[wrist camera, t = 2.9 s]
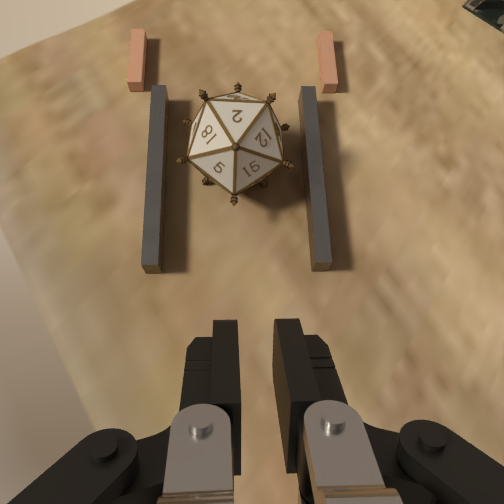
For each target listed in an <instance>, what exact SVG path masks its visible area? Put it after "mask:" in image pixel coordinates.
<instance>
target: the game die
mask: <svg viewBox="0 0 504 504" xmlns="http://www.w3.org/2000/svg"><path fill="white" fill-rule="evenodd" d="M241 87H242V86H241V85H240V84H239V82H238V83H237V84H236V85H235V88H234V89H235V91H236V92H235V93H230V94H225V95H221V96H216V97H211V98H208V96H207V95H208V94H206V91H203V90H201V89H199V96H200V97H201V99H203V100H204V103H203V105H202V106H201V108H200V110H199V112H198V113H197V115H196V117H195V119H194V121H193V122H192V121H191V120H188V119H187V120H184V121H183V122H184V124H185V126H188V127H189V126H191V130H190V136H189V143H188V149H187V155H186V156H182V157H180V156H179V158H178V160H177V161H176V162H177V163H181V164H182V163H185V162H186V161H189V162H190V163H191V164H192V165H193V166H194V167H195V168H197V169H198V170H199V171H200V172H201V173H202V174H203V175H204V176H205V178H204V179H203V180H202V181H203V185H205V184H207V185H208V183H209V180H211V181H212V182H214V183H215V184H216V185H218V186H219V187H221V188H222V189H224V190H225V191H227V192H228V193H230V194H231V195H232V197H231V198H230V199H231V201H230V202H231V203H232V205H233V206H235V205H236V203H237V202H238V201H237V199H238V198H237V195H238V194H239V193H241V192H243V191H245V190H246V189H248V188H250V187H252V186H254V185H255V184H257V183H259V182H260V185H262V187H267V182H266V180H264V179H265V178H266V177H267V176H269V175H270V174H271V173H272V172H274V171H275V170H276V169H277V168H279V167H280V166H281V165H284V166H285V167H287V168H288V169H289V168H292V167H294V166H293V164H292V163H291V161H289V160H287V161H285V160H284V152H283V138H282V130H283V131H285V130H288V128H289V127H290V125H288V124H286V123H285V124H283V125H282V126H280V124H279V122H278V120H277V118H276V116H275V113H274V111H273V109H272V107H271V105H270V103H272V102H274V100H276V98H275V97H276V93H273V94H269V97H267V100H266V101H265V100H262V99H259V98H256V97H253V96H249V95H246V94H243V93H240V91H241Z"/></svg>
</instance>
